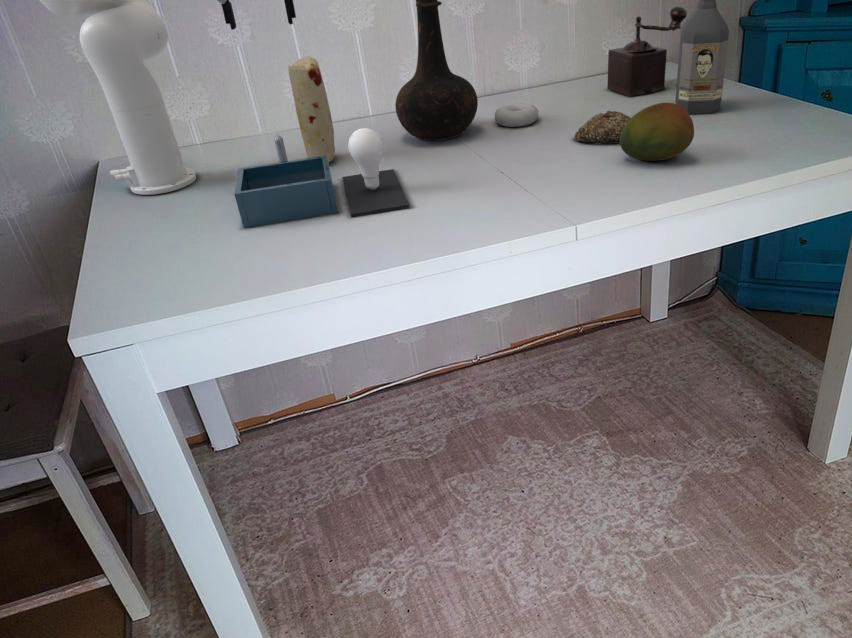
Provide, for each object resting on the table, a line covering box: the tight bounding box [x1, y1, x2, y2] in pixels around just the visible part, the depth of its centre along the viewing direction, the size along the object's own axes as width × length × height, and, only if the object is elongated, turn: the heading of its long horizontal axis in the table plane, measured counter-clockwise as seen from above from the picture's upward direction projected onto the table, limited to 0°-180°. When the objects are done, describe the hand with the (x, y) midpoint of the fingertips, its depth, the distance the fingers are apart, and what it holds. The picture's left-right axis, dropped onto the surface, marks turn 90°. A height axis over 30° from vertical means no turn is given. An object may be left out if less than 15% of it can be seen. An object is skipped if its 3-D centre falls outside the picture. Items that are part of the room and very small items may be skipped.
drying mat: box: [341, 168, 410, 218], centre depth 127 cm, size 10×20×1 cm, turn 14°
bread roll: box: [574, 110, 632, 144], centre depth 143 cm, size 13×12×5 cm
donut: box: [494, 102, 539, 128], centre depth 157 cm, size 10×4×10 cm
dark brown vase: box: [394, 0, 479, 141], centre depth 146 cm, size 18×18×28 cm
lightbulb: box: [347, 127, 384, 190], centre depth 124 cm, size 6×6×11 cm
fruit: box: [619, 101, 695, 162], centre depth 127 cm, size 12×13×10 cm
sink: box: [233, 133, 339, 229], centre depth 123 cm, size 16×16×11 cm
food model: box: [288, 55, 336, 163], centre depth 140 cm, size 10×7×20 cm
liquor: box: [674, 0, 730, 115], centre depth 147 cm, size 9×9×30 cm
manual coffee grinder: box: [606, 6, 688, 98], centre depth 169 cm, size 16×11×18 cm
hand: (262, 25), depth 120 cm, fingers open, 9 cm apart
